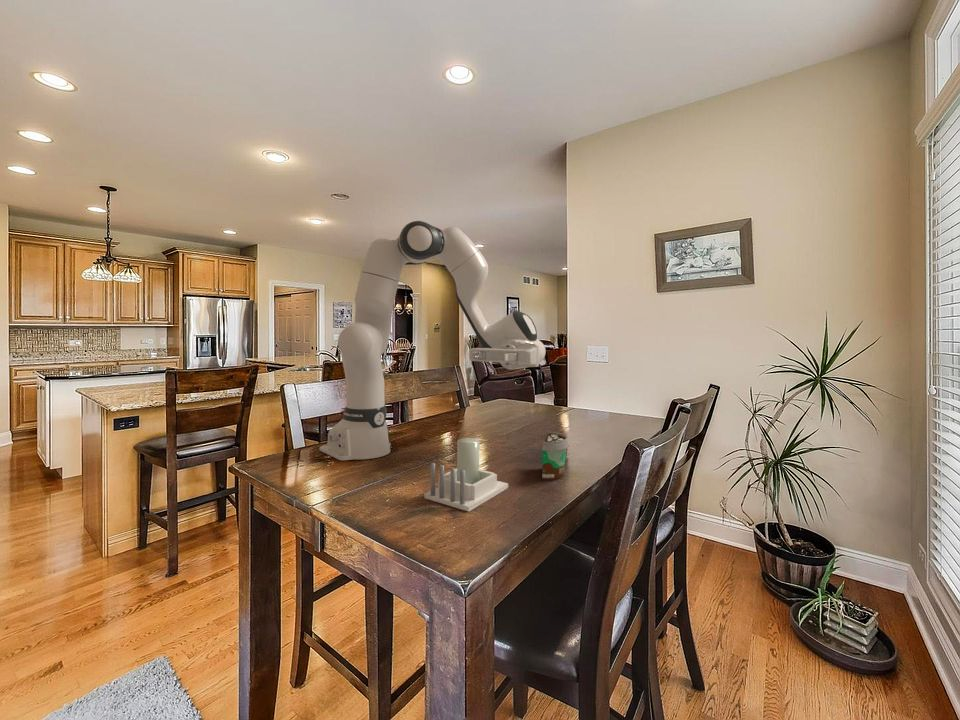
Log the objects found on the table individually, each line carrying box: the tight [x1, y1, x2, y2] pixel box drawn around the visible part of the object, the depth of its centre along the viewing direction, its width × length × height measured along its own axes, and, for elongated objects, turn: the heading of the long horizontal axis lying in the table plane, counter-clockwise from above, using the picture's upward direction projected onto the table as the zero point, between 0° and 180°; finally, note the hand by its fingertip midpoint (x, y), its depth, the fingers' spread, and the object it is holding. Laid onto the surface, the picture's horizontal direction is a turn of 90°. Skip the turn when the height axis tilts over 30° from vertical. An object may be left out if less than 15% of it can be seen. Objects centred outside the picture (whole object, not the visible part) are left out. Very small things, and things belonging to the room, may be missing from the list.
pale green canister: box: [456, 437, 480, 484], centre depth 94 cm, size 5×5×11 cm
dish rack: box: [423, 462, 509, 512], centre depth 94 cm, size 12×16×8 cm
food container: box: [541, 430, 570, 482], centre depth 106 cm, size 12×6×10 cm, turn 165°
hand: (487, 356), depth 112 cm, fingers open, 8 cm apart
